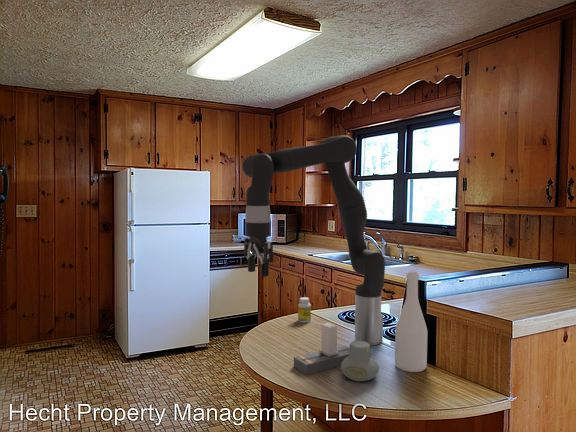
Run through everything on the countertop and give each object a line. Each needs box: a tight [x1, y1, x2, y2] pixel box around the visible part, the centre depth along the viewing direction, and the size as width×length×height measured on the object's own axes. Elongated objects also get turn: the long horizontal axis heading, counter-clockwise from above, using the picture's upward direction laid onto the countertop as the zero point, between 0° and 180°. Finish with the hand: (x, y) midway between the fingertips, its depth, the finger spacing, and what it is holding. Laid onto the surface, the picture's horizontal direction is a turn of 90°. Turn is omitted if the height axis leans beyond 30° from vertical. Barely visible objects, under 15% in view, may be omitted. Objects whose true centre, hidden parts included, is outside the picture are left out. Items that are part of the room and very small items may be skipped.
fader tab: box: [318, 322, 339, 357], centre depth 137 cm, size 4×5×9 cm
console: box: [293, 344, 350, 376], centre depth 137 cm, size 20×7×3 cm, turn 122°
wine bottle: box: [394, 270, 428, 373], centre depth 134 cm, size 10×10×30 cm
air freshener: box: [340, 340, 380, 383], centre depth 127 cm, size 11×8×10 cm
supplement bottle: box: [297, 296, 312, 324], centre depth 181 cm, size 5×5×10 cm
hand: (258, 273), depth 132 cm, fingers open, 8 cm apart
